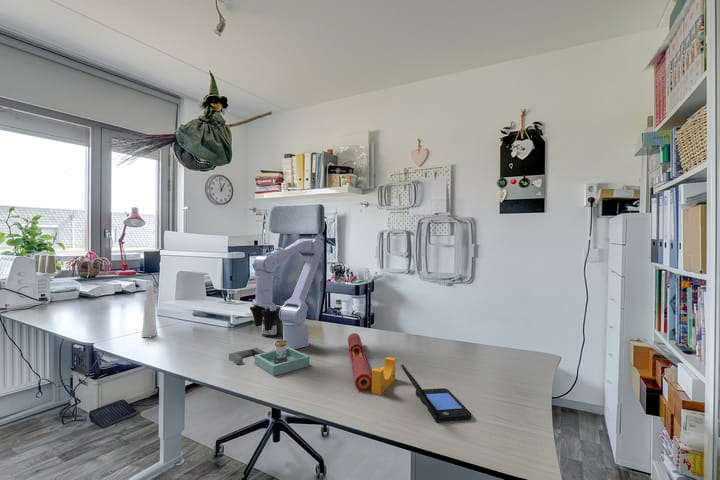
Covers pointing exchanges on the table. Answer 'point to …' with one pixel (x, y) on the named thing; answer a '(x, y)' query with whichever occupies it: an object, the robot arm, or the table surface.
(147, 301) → the cosmetic bottle
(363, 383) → the blood vessel
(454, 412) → the black handheld device
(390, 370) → the pipe clamp
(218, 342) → the table surface
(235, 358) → the bracket
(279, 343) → the glass jar
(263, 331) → the ink bottle
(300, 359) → the tray
